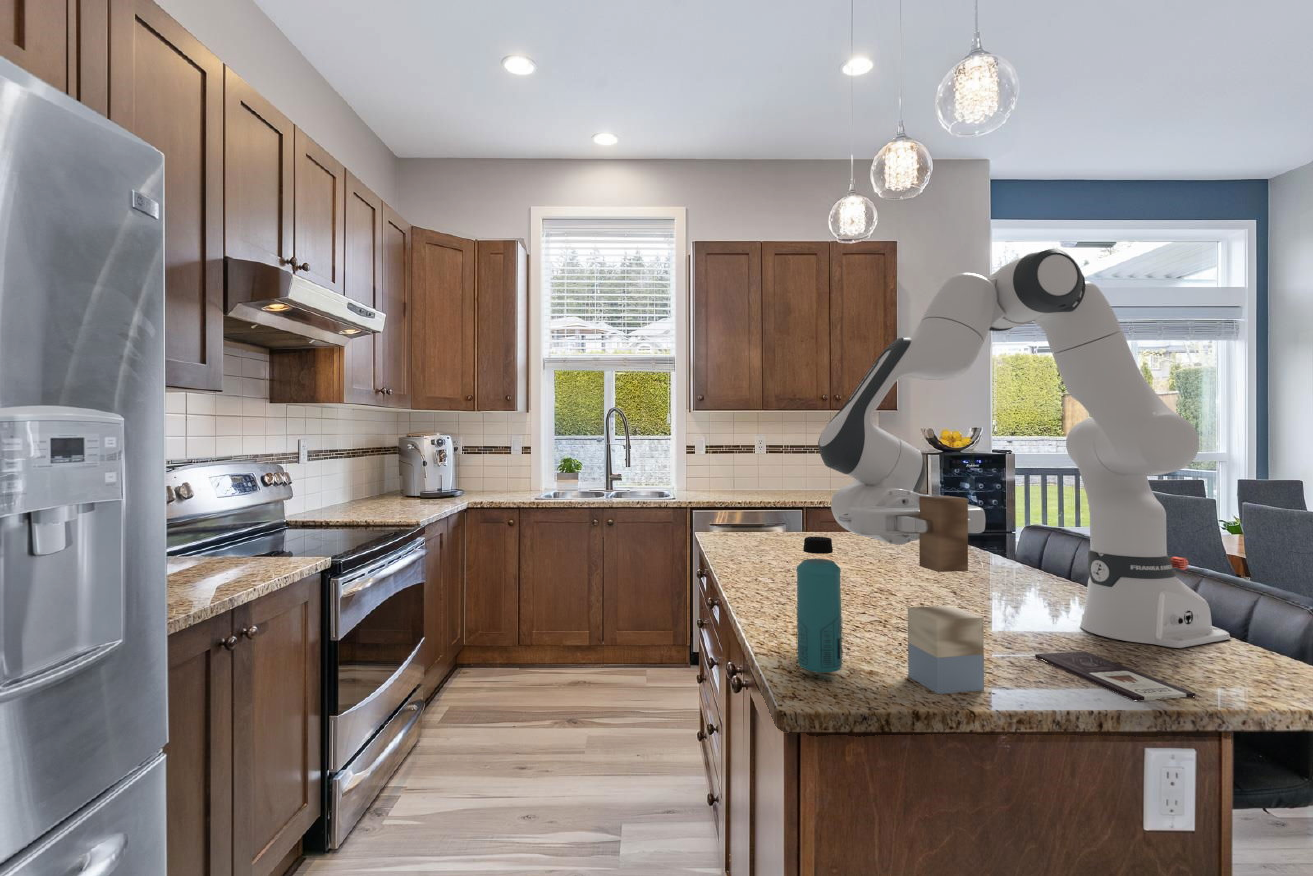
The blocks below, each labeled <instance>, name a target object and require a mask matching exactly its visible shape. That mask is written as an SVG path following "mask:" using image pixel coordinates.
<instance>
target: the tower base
mask: <svg viewBox="0 0 1313 876" xmlns="http://www.w3.org/2000/svg"><path fill="white" fill-rule="evenodd" d="M907 662H908V663H907V664H908V665H907V666H908V668H907V669H908V670H907V672H908V673H907V676H908V677H909V678H911V679H913V681H916V682H917V683H919V684H921V686H924V687H925V688H927V689H928V688H929V689H928V690H930V691H932V692H933V691H934V692H933V693H934V694H936V695H940V694H942V695H943V694H954V693H955V694H956V693H958V694H959V693H968V692H969V691H971V692H981V691H985V655H969V656H954V657H939V658H937V657H935V656H933V655H931V654H929V653H927V652H925V651H923V650H921V649H920V648H918V647H916V646H914V645H912V644H910V643H908V642H907Z"/></svg>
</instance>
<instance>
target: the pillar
mask: <svg viewBox="0 0 1313 876" xmlns="http://www.w3.org/2000/svg"><path fill="white" fill-rule="evenodd" d="M968 504H969V498H967V497H959V496H952V495H951V496H950V495H940V496H919V519H928V520H931V521H932V523H933V525H932V528H933V531H932V532H931V533H920V532H919V540H918V541H919V547H918V548H919V550H918V551H919V552H918V553H919V555H918V556H919V559H918V560H919V567H921V568H925V569H927V570H930V571H934V572H936V573H937V572H938V573H950V572H951V573H952V572H968V571H969V533H968Z"/></svg>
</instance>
